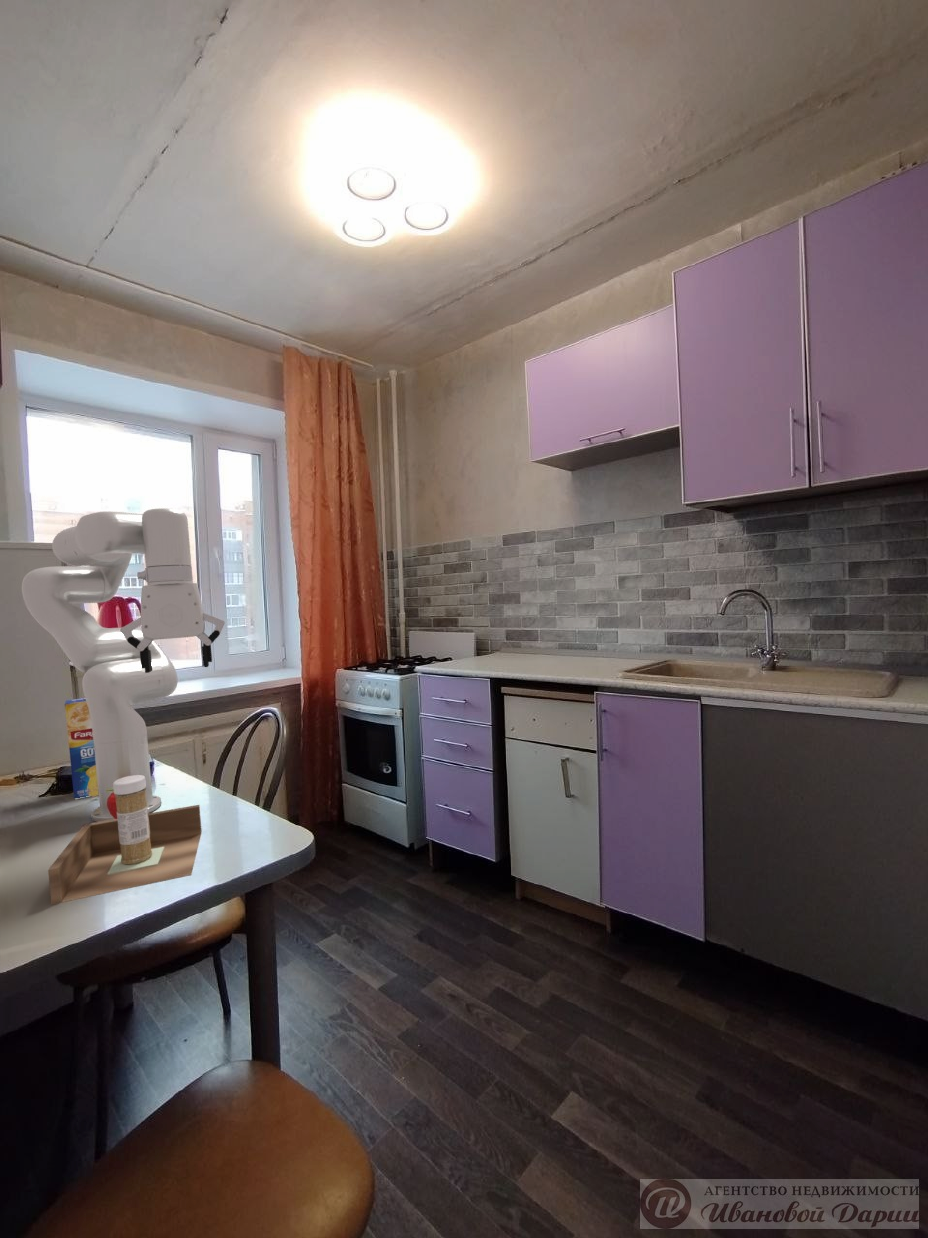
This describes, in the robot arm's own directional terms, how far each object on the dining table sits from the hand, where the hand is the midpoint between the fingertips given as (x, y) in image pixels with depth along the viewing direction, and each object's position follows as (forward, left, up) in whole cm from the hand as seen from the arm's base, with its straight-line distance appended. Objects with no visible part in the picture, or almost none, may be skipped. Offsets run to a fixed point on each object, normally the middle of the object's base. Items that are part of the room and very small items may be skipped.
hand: (178, 669), depth 105 cm
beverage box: (-38, -23, -31) cm, 54 cm away
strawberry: (-7, -12, -31) cm, 34 cm away
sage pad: (+12, -7, -30) cm, 33 cm away
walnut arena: (+13, -7, -30) cm, 34 cm away
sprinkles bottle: (+12, -7, -30) cm, 33 cm away
